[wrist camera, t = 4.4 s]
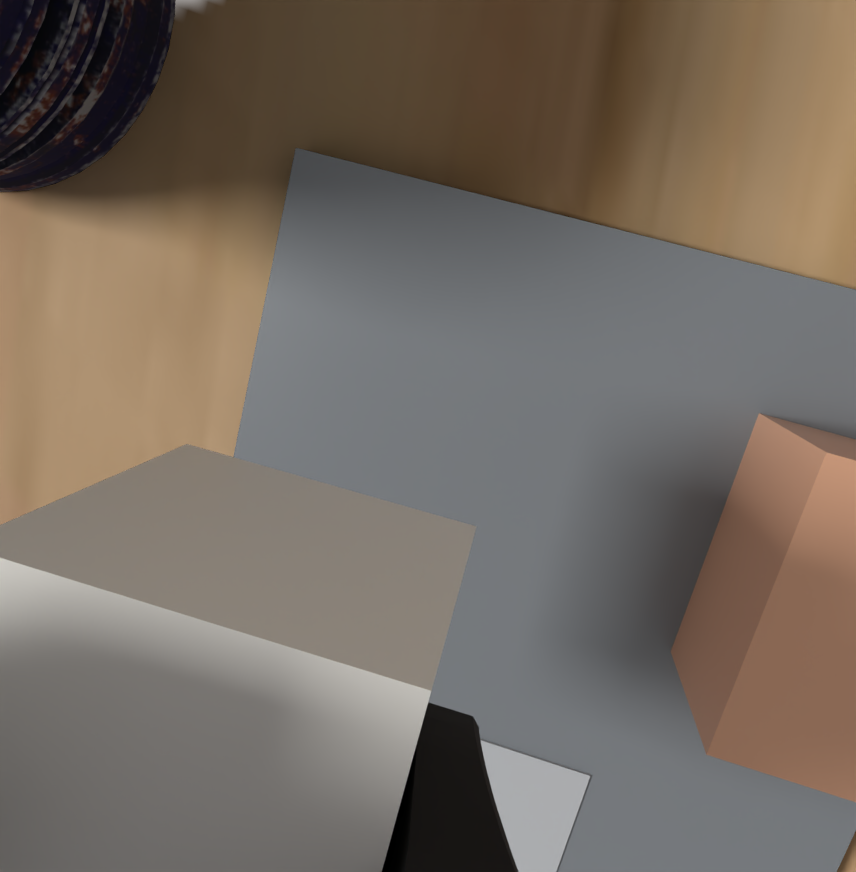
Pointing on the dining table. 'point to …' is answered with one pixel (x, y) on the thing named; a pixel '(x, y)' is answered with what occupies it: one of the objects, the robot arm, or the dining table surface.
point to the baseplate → (555, 483)
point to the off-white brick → (216, 670)
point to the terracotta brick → (780, 613)
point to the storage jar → (73, 81)
